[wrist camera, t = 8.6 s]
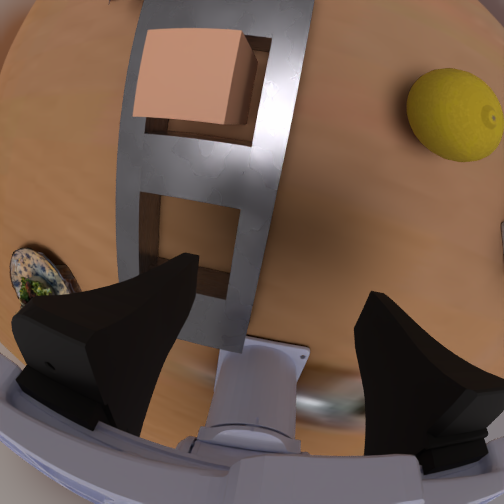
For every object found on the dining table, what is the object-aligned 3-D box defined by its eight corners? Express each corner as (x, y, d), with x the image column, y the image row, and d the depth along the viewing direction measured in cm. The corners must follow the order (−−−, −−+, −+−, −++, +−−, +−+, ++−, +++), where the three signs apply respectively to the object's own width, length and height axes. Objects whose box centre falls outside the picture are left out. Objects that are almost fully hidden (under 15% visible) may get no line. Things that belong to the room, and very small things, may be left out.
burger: (73, 246, 24) (22, 285, 17) (98, 338, 29) (66, 383, 22) (8, 236, 24) (-34, 265, 18) (33, 316, 30) (2, 349, 23)
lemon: (374, 109, 16) (428, 104, 9) (419, 61, 14) (484, 40, 6) (425, 167, 17) (491, 198, 10) (466, 120, 15) (538, 131, 8)
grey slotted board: (247, 325, 24) (241, 353, 21) (140, 299, 25) (123, 322, 21) (313, 0, 13) (318, -21, 10) (172, -9, 13) (152, -26, 10)
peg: (246, 124, 17) (223, 124, 11) (183, 116, 18) (132, 116, 11) (257, 62, 15) (241, 30, 9) (193, 56, 16) (147, 30, 9)
